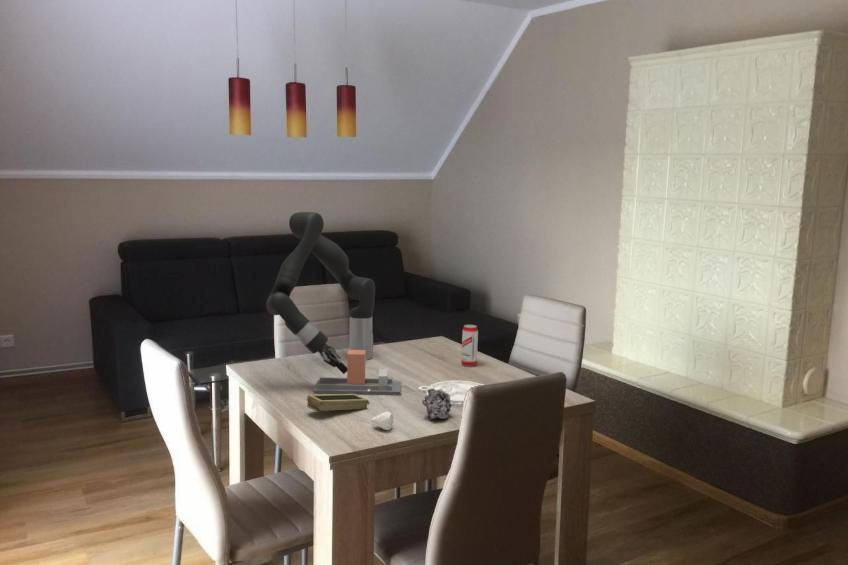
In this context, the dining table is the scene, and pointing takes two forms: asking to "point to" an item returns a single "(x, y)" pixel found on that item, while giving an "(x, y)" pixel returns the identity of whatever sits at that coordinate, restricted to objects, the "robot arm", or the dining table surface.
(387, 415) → the white seashell
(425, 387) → the medallion
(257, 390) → the dining table surface
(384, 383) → the grey slide track
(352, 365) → the salmon rectangular block
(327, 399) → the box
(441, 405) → the mineral specimen
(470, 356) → the beer can
